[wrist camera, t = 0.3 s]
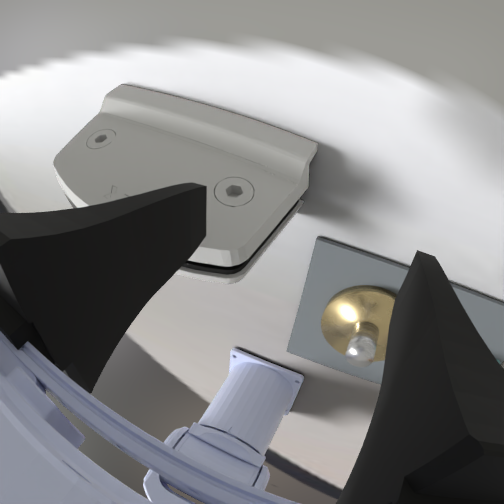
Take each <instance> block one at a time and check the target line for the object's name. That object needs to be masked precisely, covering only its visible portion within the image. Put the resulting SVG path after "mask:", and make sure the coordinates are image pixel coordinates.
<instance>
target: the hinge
mask: <svg viewBox="0 0 504 504" xmlns="http://www.w3.org/2000/svg"><path fill="white" fill-rule="evenodd" d="M317 149H318V143H316V142H314V141H311V140H309V139H306V138H303V137H301V136H298V135H296V134H293V133H290V132H288V131H285V130H282V129H279V128H277V127H274V126H271V125H268V124H265V123H262V122H260V121H257V120H254V119H251V118H248V117H245V116H241V115H238V114H235V113H232V112H229V111H226V110H222V109H219V108H216V107H212V106H209V105H205V104H202V103H198V102H195V101H191V100H187V99H184V98H180V97H176V96H172V95H168V94H164V93H160V92H155V91H151V90H147V89H142V88H138V87H133V86H128V85H123V84H121V85H119V86H118V87H116V88H115V89H113V90H112V91H111V92H109V93H108V94H107V95H106V96H105V98H104V101H103V104H102V107H101V110H100V112H99V113H98V114H97V115H96V116H95V117H94V118H93V119H92V120H91V121H90V122H89V123H88V124H87V125H86V126H85V127H84V128H83V129H82V130H81V131H80V132H79V133H78V134H77V135H76V136H75V137H74V138H73V139H72V140H71V141H70V142H69V143H68V144H67V145H66V146H65V147H64V148H63V149H62V150H61V151H60V152H59V153H58V154H57V155H56V157H55V159H54V162H53V163H54V168H55V172H56V176H57V180H58V182H59V184H60V185H61V187H62V189H63V191H64V193H65V195H66V197H67V199H68V200H69V202H70V204H71V205H72V207H73V208H80V207H86V206H91V205H97V204H101V203H106V202H110V201H114V200H118V199H122V198H126V197H130V196H134V195H138V194H142V193H145V192H149V191H153V190H157V189H160V188H164V187H168V186H173V185H177V184H182V183H190V182H193V183H197V184H201V185H205V186H207V209H206V237H205V238H204V240H203V241H202V243H201V244H200V245H199V247H198V248H197V250H196V251H195V252H194V253H193V255H192V256H191V257H190V258H189V259H188V260H187V261H186V262H185V263H184V264H183V266H182V267H181V268H180V269H179V270H178V271H177V272H176V273H175V274H178V275H181V276H185V277H189V278H194V279H198V280H203V281H209V282H216V283H223V284H233V283H236V282H239V281H240V280H242V279H243V278H244V276H245V275H246V274H247V273H248V272H249V270H250V269H251V268H252V267H253V266H254V264H255V263H256V262H257V261H258V259H259V258H260V257H261V256H262V255H263V253H264V252H265V251H266V250H267V248H268V247H269V246H270V245H271V244H272V242H273V241H274V240H275V239H276V237H277V236H278V235H279V234H280V233H281V231H282V230H283V229H284V228H285V226H286V225H287V224H288V223H289V221H290V220H291V219H292V218H293V217H294V215H295V214H296V213H297V211H298V210H299V209H300V207H301V206H302V204H303V203H304V201H303V200H301V199H300V197H301V196H302V194H303V193H304V192H305V191H306V190H307V188H308V187H309V164H310V162H311V160H312V159H313V157H314V155H315V154H316V152H317Z"/></svg>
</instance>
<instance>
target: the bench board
mask: <svg viewBox="0 0 504 504" xmlns="http://www.w3.org/2000/svg"><path fill="white" fill-rule="evenodd" d="M408 271H409V267H406V266H403V265H400V264H398V263H395V262H392V261H389V260H386V259H383V258H380V257H378V256H375V255H372V254H369V253H366V252H363V251H360V250H357V249H354V248H351V247H348V246H345V245H342V244H339V243H336V242H333V241H330V240H327V239H324V238H321V237H317V239H316V242H315V246H314V250H313V254H312V258H311V262H310V266H309V270H308V274H307V278H306V282H305V286H304V290H303V293H302V297H301V301H300V305H299V308H298V312H297V316H296V319H295V323H294V326H293V330H292V333H291V337H290V340H289V344H288V347H287V352H289V353H292V354H295V355H297V356H300V357H303V358H305V359H308V360H311V361H313V362H316V363H319V364H322V365H324V366H327V367H330V368H333V369H336V370H339V371H341V372H344V373H347V374H350V375H353V376H356V377H359V378H362V379H365V380H368V381H371V382H375V383H378V384H381V383H382V377H383V370H384V363H385V360H383V361H376V362H372V364H370V365H369V366H366V367H357V366H354V365H351V364H350V363H349V362H348V361H347V360H346V358H345V355H343V354H341V353H339V352H338V351H336V350H335V349H334V348H333V347H332V346H331V345H330V344H329V343H328V342H327V341H326V339H325V337H324V335H323V333H322V330H321V319H322V315H323V313H324V310H325V308H326V305H327V303H328V302H329V300H330V299H331V298H332V297H333V296H334V295H335V294H336V293H338V292H339V291H341V290H343V289H346V288H349V287H352V286H358V285H372V286H377V287H381V288H385V289H387V290H389V291H391V292H393V293H395V294H398V292H399V290H400V288H401V286H402V284H403V282H404V279H405V277H406V275H407V273H408ZM450 284H451V286H452V287H453V289H454V291H455V293H456V295H457V297H458V298H459V300H460V302H461V304H462V306H463V307H464V309H465V311H466V313H467V314H468V316H469V318H470V319H471V321H472V323H473V325H474V326H475V328H476V330H477V331H478V333H479V334H480V336H481V337H482V339H483V340H484V342H485V343H486V345H487V346H488V348H489V350H490V351H491V353H492V354H493V355H494V357H495V358H496V359H497V360H500V365H501V364H502V363H503V362H504V303H503V302H500V301H498V300H495V299H493V298H490V297H487V296H485V295H482V294H480V293H477V292H474V291H472V290H469V289H466V288H464V287H461V286H458V285H456V284H453V283H450Z"/></svg>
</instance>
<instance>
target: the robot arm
mask: <svg viewBox="0 0 504 504" xmlns="http://www.w3.org/2000/svg"><path fill="white" fill-rule="evenodd" d="M206 209H207V186H205V185H201V184H197V183H193V182H190V183H182V184H177V185H173V186H168V187H164V188H160V189H157V190H153V191H149V192H145V193H142V194H138V195H134V196H130V197H126V198H122V199H118V200H114V201H110V202H106V203H101V204H97V205H91V206H86V207H80V208H73V209H66V210H58V211H50V212H36V213H0V504H196V503H193V502H192V501H189V500H187V499H186V498H184V497H182V496H180V495H178V494H177V493H175V492H173V491H172V490H171V489H170V488H169V487H168V486H167V484H169V485H171V486H173V487H174V488H176V489H178V490H180V491H182V492H183V493H185V494H187V495H189V496H191V497H193V498H195V499H197V500H199V501H201V502H203V503H205V504H300V503H297V502H294V501H291V500H288V499H285V498H282V497H279V496H276V495H274V494H271V493H268V492H265V491H264V490H265V488H266V485H267V483H268V481H269V477H270V473H269V471H268V467H267V466H265V465H262V464H263V462H264V460H265V458H266V457H265V456H264V454H265V452H266V451H267V449H268V447H269V445H270V443H271V440H272V438H273V436H274V434H275V432H276V430H277V428H278V426H279V424H280V422H281V420H282V418H283V415H288V413H289V411H290V409H291V407H292V405H293V403H294V400H295V398H296V396H297V394H298V391H299V389H300V387H301V385H302V382H303V380H304V377H303V375H301V374H298V373H296V372H293V371H291V370H288V369H285V368H283V367H280V366H278V365H275V364H273V363H270V362H268V361H265V360H263V359H260V358H258V357H255V356H253V355H251V354H248V353H246V352H243V351H241V350H239V349H236V348H233V349H232V350H231V352H230V369H229V375H228V377H227V379H226V380H225V382H224V383H223V385H222V387H221V388H220V390H219V391H218V393H217V394H216V396H215V398H214V399H213V401H212V402H211V404H210V405H209V407H208V409H207V410H206V412H205V413H204V415H203V416H202V418H201V419H200V421H199V423H198V424H197V423H195V422H194V423H193V425H192V426H191V428H190V429H189V428H187V427H182V428H178V429H176V430H174V431H173V432H172V433H171V434H170V435H169V436H168V437H167V439H166V440H165V441H164V443H163V442H161V441H159V440H158V439H156V438H154V437H153V436H151V435H149V434H148V433H146V432H144V431H143V430H141V429H140V428H138V427H136V426H135V425H134V424H132V423H130V422H129V421H127V420H126V419H124V418H123V417H121V416H120V415H118V414H117V413H115V412H114V411H113V410H111V409H110V408H108V407H107V406H106V405H104V404H103V403H101V402H100V401H99V400H97V399H96V398H95V397H93V396H92V395H91V394H90V393H92V391H93V388H94V386H95V384H96V382H97V380H98V378H99V376H100V374H101V372H102V370H103V368H104V367H105V365H106V363H107V361H108V360H109V358H110V356H111V354H112V353H113V351H114V349H115V348H116V346H117V344H118V343H119V341H120V340H121V338H122V337H123V335H124V334H125V332H126V331H127V329H128V328H129V326H130V325H131V323H132V322H133V321H134V319H135V318H136V317H137V315H138V314H139V313H140V311H141V310H142V308H143V307H144V306H145V305H146V303H147V302H148V301H149V300H150V299H151V298H152V296H153V295H154V294H155V293H156V292H157V291H158V290H159V289H160V288H161V287H162V286H163V285H164V284H165V283H166V282H167V281H168V280H169V279H170V278H171V277H172V276H173V275H174V274H175V273H176V272H177V271H178V270H179V269H180V268H181V267H182V266H183V264H184V263H185V262H186V261H187V260H188V259H189V258H190V257H191V256H192V255H193V253H194V252H195V251H196V250H197V248H198V247H199V245H200V244H201V243H202V241H203V240H204V238H205V237H206ZM45 389H46V390H47V391H48V392H49V393H50V394H51V395H52V396H53V397H54V398H56V399H57V400H58V401H59V402H60V403H61V404H62V405H63V406H64V407H66V408H67V409H68V410H69V411H70V412H72V413H73V414H74V415H75V416H76V417H78V418H79V419H80V420H81V421H82V422H84V423H85V424H86V425H88V426H89V427H90V428H91V429H93V430H94V431H95V432H97V433H98V434H99V435H101V436H102V437H103V438H105V439H106V440H107V441H109V442H110V443H112V444H113V445H114V446H116V447H117V448H119V449H120V450H122V451H123V452H124V453H126V454H128V455H129V456H130V457H132V458H134V459H135V460H137V461H138V462H140V463H141V464H143V465H145V466H146V467H148V468H149V471H148V473H147V474H146V476H145V477H144V483H143V486H144V490H145V492H146V494H147V497H148V499H149V500H148V499H146V498H144V497H143V496H141V495H139V494H138V493H137V492H135V491H134V490H132V489H130V488H129V487H127V486H126V485H125V484H123V483H122V482H120V481H118V480H117V479H116V478H114V477H113V476H111V475H110V474H109V473H107V472H106V471H105V470H103V469H102V468H101V467H99V466H98V465H97V464H95V463H94V462H93V461H92V460H90V459H89V458H88V457H87V456H85V455H84V454H83V453H82V452H80V451H79V450H78V448H79V446H80V445H81V444H82V443H83V441H84V440H85V436H84V435H83V434H82V433H81V432H80V431H79V430H78V429H77V428H76V427H75V426H74V425H73V424H72V423H70V421H69V420H68V419H67V418H66V417H65V416H64V415H63V414H62V412H61V411H60V410H59V409H58V407H57V406H56V405H55V404H54V403H53V402H52V401H51V400H50V399H49V398H48V397H47V396H46V390H45ZM336 504H504V369H503V368H502V367H501V365H500V364H499V363H498V361H497V360H496V358H495V357H494V355H493V354H492V353H491V351H490V350H489V348H488V346H487V345H486V343H485V342H484V340H483V339H482V337H481V336H480V334H479V333H478V331H477V330H476V328H475V326H474V325H473V323H472V321H471V319H470V318H469V316H468V314H467V313H466V311H465V309H464V307H463V306H462V304H461V302H460V300H459V298H458V297H457V295H456V293H455V291H454V289H453V287H452V286H451V284H450V282H449V280H448V278H447V276H446V275H445V273H444V271H443V269H442V267H441V266H440V264H439V262H438V261H437V259H436V258H435V256H432V255H429V254H426V253H423V252H421V251H418V250H417V252H416V255H415V257H414V259H413V262H412V264H411V266H410V268H409V271H408V273H407V275H406V277H405V279H404V282H403V284H402V286H401V288H400V290H399V292H398V294H397V296H396V298H395V301H394V306H393V310H392V315H391V319H390V324H389V331H388V339H387V347H386V355H385V363H384V370H383V377H382V383H381V388H380V393H379V397H378V401H377V404H376V408H375V411H374V414H373V417H372V420H371V423H370V426H369V429H368V432H367V435H366V438H365V440H364V443H363V446H362V448H361V451H360V453H359V456H358V458H357V460H356V463H355V465H354V467H353V470H352V472H351V474H350V477H349V479H348V481H347V483H346V485H345V487H344V489H343V491H342V493H341V495H340V497H339V499H338V501H337V503H336Z"/></svg>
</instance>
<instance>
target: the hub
mask: <svg viewBox="0 0 504 504" xmlns="http://www.w3.org/2000/svg"><path fill="white" fill-rule="evenodd" d="M396 296H397V294H395V293H393V292H391V291H389V290H387V289H385V288H381V287H377V286H372V285H358V286H352V287H349V288H346V289H343V290H341V291H339V292H338V293H336V294H335V295H334V296H333V297H332V298H331V299H330V300H329V302H328V303H327V305H326V308H325V310H324V313H323V315H322V319H321V330H322V333H323V335H324V337H325V339H326V341H327V342H328V343H329V344H330V345H331V346H332V347H333V348H334V349H335V350H336V351H338V352H339V353H341V354H343V355H345V358H346V360H347V361H348V362H349V363H350V364H351V365H354V366H357V367H366V366H369V365H370V364H372V362H376V361H383V360H385V355H386V347H387V339H388V331H389V324H390V319H391V315H392V310H393V306H394V301H395V298H396Z"/></svg>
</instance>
